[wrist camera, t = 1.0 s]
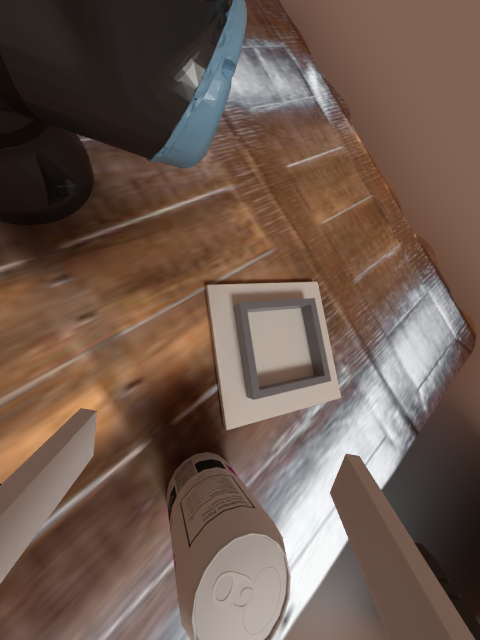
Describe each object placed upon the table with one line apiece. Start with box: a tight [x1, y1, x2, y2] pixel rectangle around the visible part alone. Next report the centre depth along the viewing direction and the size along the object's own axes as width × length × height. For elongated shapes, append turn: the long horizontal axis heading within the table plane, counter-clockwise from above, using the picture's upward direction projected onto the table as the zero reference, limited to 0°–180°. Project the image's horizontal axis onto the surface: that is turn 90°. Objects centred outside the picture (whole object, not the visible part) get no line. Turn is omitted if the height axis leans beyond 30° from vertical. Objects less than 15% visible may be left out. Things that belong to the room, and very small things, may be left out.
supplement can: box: [166, 452, 291, 640], centre depth 22 cm, size 8×8×15 cm
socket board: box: [205, 282, 341, 430], centre depth 34 cm, size 20×20×4 cm
